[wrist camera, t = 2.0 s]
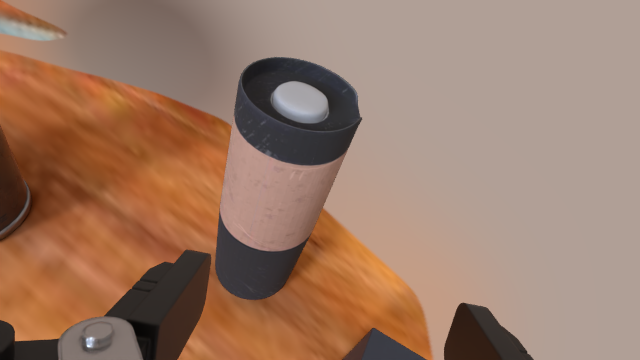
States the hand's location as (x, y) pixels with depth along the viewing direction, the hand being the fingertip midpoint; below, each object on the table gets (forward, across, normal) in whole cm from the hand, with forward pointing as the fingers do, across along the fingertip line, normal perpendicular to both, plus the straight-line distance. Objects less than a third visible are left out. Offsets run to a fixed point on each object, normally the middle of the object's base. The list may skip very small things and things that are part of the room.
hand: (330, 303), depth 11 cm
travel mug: (+22, +5, +11) cm, 25 cm away
